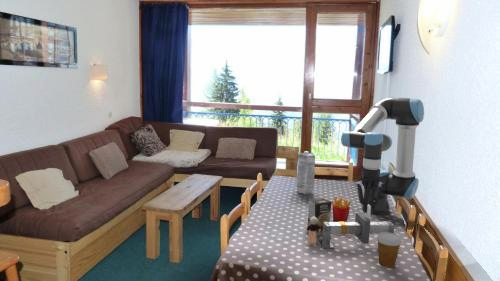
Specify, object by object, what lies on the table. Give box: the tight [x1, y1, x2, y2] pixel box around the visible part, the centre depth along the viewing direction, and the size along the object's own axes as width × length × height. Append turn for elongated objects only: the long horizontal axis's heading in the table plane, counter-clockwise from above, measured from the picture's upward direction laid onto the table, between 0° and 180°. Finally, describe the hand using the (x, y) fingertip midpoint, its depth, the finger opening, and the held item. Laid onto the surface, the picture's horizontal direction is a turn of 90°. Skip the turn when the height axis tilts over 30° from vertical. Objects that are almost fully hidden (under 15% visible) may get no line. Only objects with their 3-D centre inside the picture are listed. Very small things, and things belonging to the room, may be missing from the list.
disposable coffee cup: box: [376, 232, 402, 269], centre depth 160 cm, size 10×10×12 cm
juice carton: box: [296, 150, 316, 195], centre depth 255 cm, size 9×10×27 cm
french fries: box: [330, 196, 352, 222], centre depth 200 cm, size 9×8×15 cm
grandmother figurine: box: [304, 217, 321, 246], centre depth 177 cm, size 8×4×13 cm, turn 119°
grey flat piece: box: [353, 212, 371, 245], centre depth 178 cm, size 2×10×10 cm, turn 7°
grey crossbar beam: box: [317, 220, 395, 250], centre depth 178 cm, size 34×8×10 cm, turn 97°
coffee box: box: [306, 198, 332, 237], centre depth 190 cm, size 9×6×16 cm
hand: (367, 219), depth 177 cm, fingers closed
